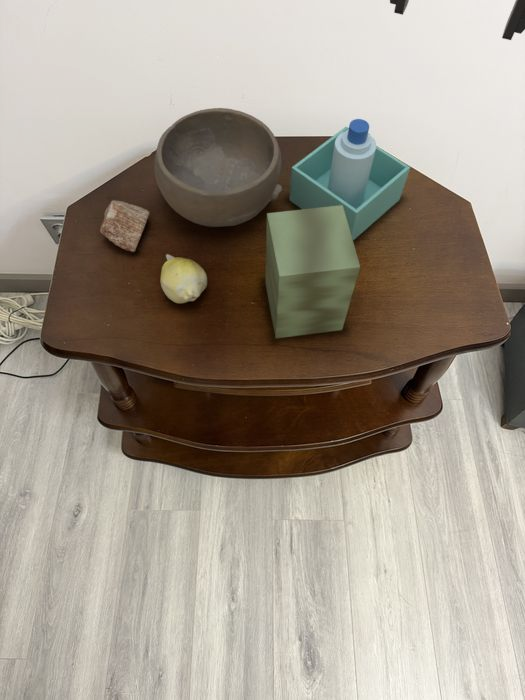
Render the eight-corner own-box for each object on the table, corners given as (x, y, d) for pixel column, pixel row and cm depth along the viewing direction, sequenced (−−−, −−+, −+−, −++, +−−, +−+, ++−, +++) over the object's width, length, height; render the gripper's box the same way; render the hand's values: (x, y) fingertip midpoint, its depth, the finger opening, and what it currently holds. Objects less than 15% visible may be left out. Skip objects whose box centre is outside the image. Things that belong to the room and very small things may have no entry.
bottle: (369, 192, 81) (388, 120, 69) (352, 216, 79) (369, 146, 67) (337, 178, 82) (350, 105, 71) (319, 201, 80) (330, 130, 68)
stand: (328, 275, 74) (342, 204, 62) (342, 330, 70) (360, 266, 58) (265, 282, 74) (266, 213, 61) (275, 338, 69) (279, 276, 57)
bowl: (302, 200, 81) (307, 148, 72) (214, 265, 75) (209, 217, 66) (226, 142, 86) (222, 87, 77) (139, 199, 81) (125, 146, 72)
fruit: (187, 251, 76) (222, 293, 71) (154, 277, 76) (188, 321, 71) (168, 227, 71) (205, 270, 66) (133, 255, 71) (168, 301, 66)
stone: (121, 261, 78) (139, 252, 74) (87, 238, 74) (104, 228, 71) (138, 222, 81) (156, 212, 77) (105, 199, 77) (123, 187, 74)
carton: (399, 199, 81) (410, 167, 75) (349, 244, 77) (356, 213, 71) (340, 160, 85) (346, 126, 79) (289, 200, 81) (291, 167, 75)
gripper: (404, -294, 27) (353, 27, 41) (703, -254, 24) (538, 71, 39) (437, -333, 30) (379, -23, 44) (704, -301, 28) (551, 15, 42)
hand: (453, 21), depth 42 cm, fingers open, 8 cm apart
